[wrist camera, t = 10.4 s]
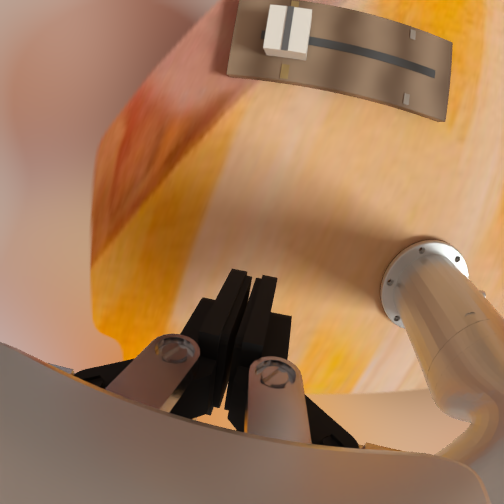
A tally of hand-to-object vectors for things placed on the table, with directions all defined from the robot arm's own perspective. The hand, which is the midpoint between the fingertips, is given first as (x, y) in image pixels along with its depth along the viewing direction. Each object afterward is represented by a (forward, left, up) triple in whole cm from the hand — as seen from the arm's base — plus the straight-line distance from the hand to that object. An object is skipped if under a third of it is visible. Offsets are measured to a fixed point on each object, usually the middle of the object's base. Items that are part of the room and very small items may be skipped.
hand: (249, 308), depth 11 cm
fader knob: (+2, -17, -23) cm, 28 cm away
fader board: (-4, -17, -25) cm, 30 cm away
